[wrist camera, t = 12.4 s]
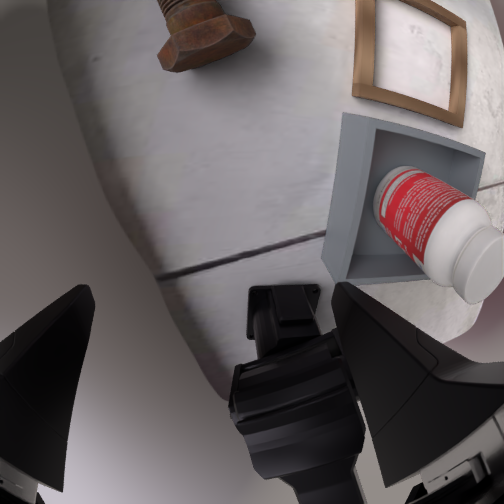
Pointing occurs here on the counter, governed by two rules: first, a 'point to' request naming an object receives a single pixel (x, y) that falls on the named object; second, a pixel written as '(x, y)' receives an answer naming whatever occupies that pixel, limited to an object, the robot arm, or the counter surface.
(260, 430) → the robot arm
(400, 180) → the pill bottle
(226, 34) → the bolt
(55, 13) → the counter surface
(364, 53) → the wooden frame
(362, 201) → the bin
